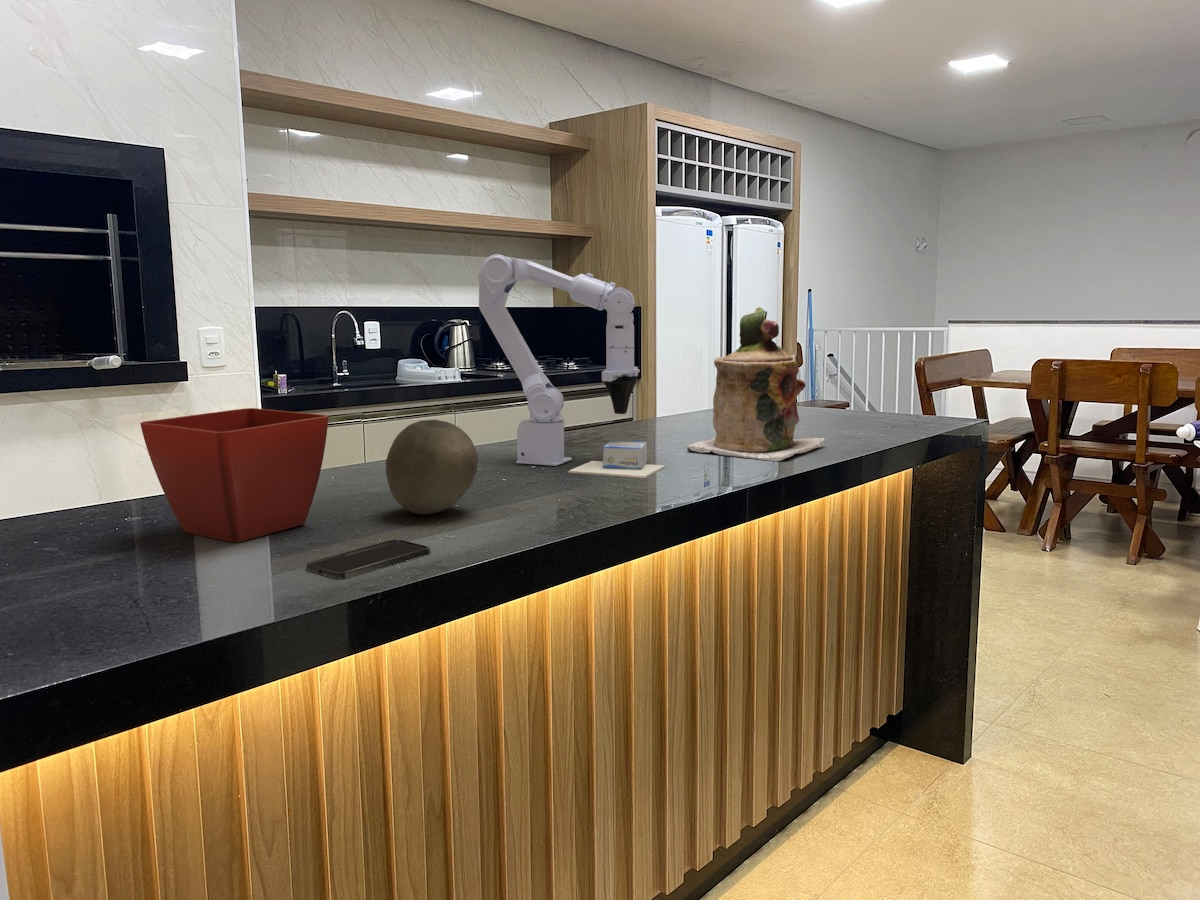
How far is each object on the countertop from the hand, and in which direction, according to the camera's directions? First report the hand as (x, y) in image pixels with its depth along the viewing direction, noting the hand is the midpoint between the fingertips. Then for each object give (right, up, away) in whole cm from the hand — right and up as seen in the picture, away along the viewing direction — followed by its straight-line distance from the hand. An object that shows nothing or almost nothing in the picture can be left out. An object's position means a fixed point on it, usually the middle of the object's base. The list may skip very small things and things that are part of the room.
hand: (620, 413), depth 186 cm
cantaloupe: (-31, -18, -42) cm, 55 cm away
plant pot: (-58, -20, -51) cm, 79 cm away
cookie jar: (+31, -8, +18) cm, 37 cm away
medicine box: (+2, -8, +1) cm, 8 cm away
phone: (-34, -23, -68) cm, 80 cm away
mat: (-1, -12, -6) cm, 13 cm away
